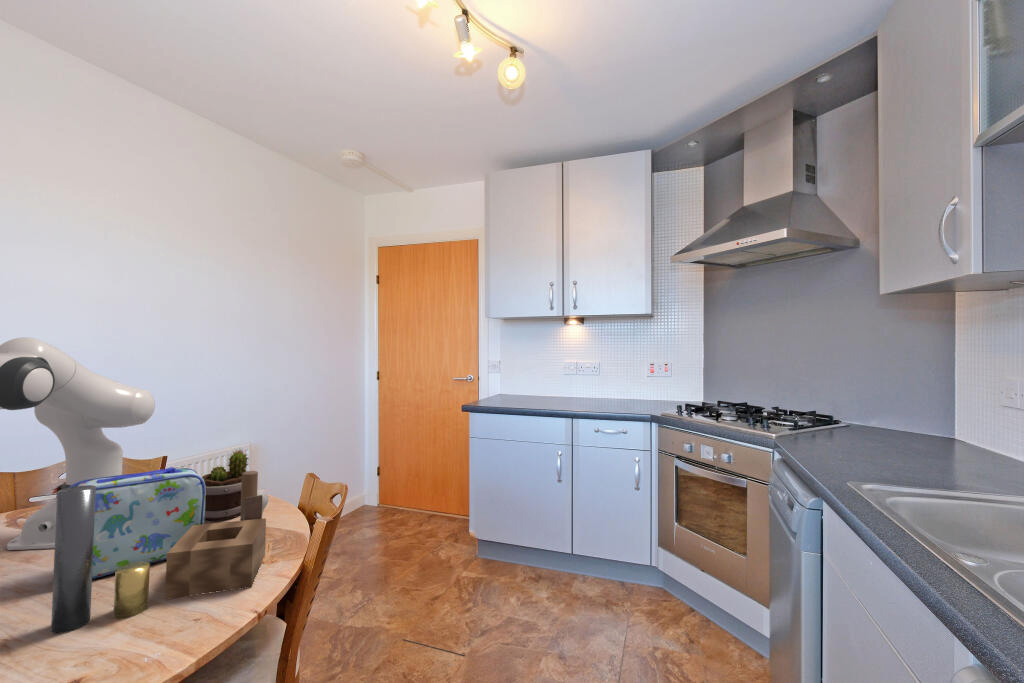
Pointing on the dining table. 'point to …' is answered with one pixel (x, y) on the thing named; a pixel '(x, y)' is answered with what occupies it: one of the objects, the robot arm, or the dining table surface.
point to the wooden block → (250, 497)
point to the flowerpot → (225, 489)
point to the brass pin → (131, 589)
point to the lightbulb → (264, 499)
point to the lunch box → (143, 515)
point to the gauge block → (215, 558)
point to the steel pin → (73, 558)
